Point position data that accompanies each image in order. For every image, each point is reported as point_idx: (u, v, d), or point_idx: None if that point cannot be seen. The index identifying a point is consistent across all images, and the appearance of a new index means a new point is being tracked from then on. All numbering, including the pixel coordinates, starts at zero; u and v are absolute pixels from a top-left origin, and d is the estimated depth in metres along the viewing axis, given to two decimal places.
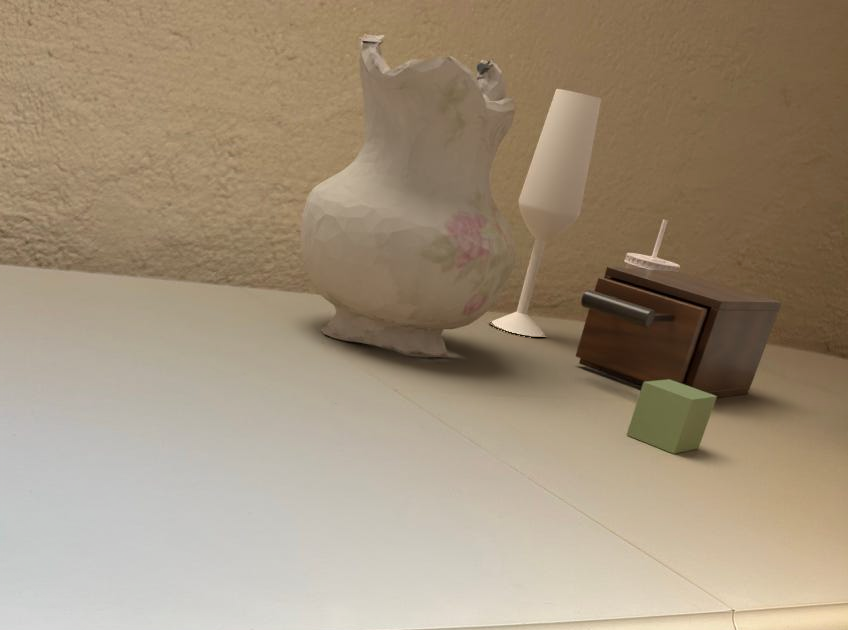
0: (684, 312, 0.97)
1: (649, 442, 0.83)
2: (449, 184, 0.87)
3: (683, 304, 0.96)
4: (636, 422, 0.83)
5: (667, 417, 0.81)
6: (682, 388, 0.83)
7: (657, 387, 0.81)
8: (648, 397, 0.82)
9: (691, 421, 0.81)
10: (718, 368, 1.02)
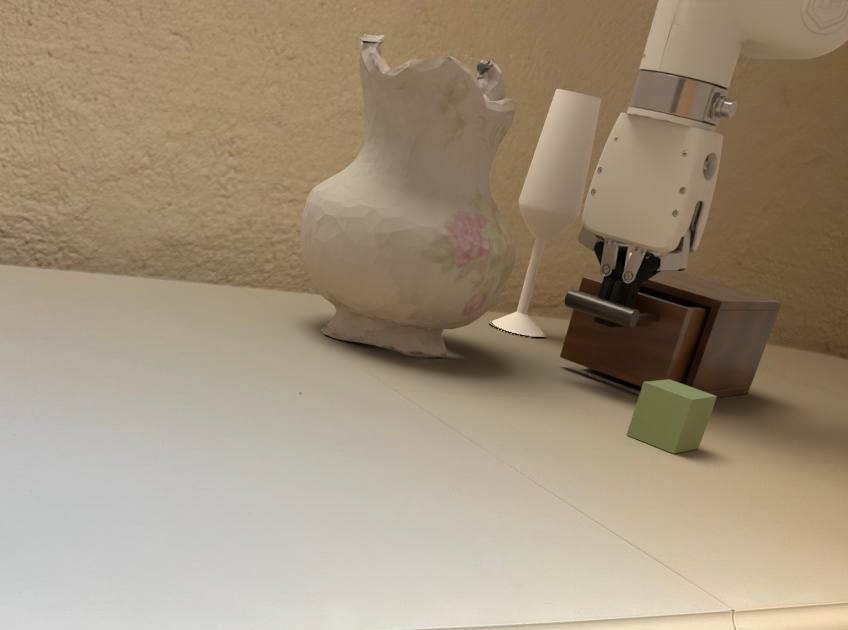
0: (669, 312, 0.94)
1: (649, 442, 0.83)
2: (449, 184, 0.87)
3: (668, 304, 0.94)
4: (636, 422, 0.83)
5: (667, 417, 0.81)
6: (682, 388, 0.83)
7: (657, 387, 0.81)
8: (648, 397, 0.82)
9: (691, 421, 0.81)
10: (718, 368, 1.02)
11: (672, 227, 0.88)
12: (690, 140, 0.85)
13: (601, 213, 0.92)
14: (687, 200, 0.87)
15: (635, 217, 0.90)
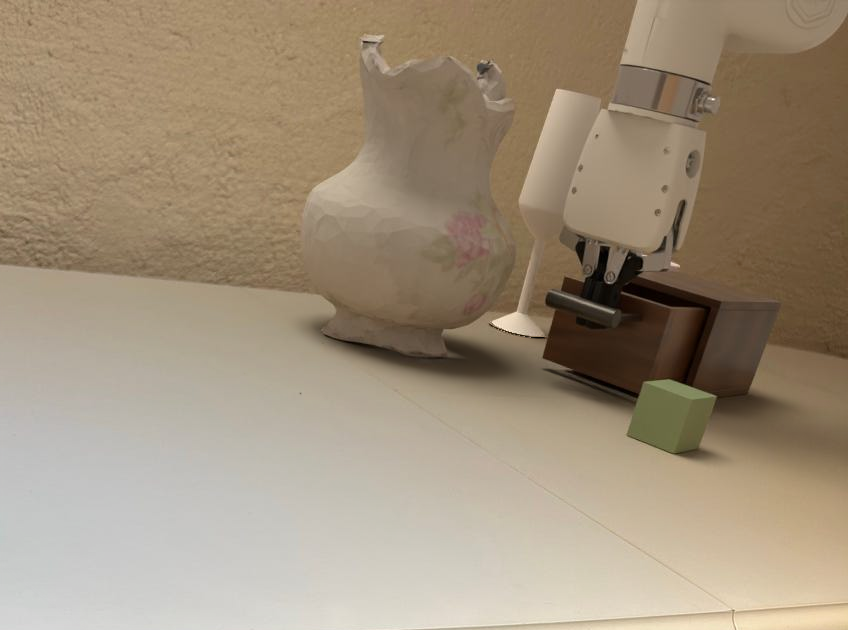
0: (652, 312, 0.92)
1: (649, 442, 0.83)
2: (449, 184, 0.87)
3: (652, 304, 0.92)
4: (636, 422, 0.83)
5: (667, 417, 0.81)
6: (682, 388, 0.83)
7: (657, 387, 0.81)
8: (648, 397, 0.82)
9: (691, 421, 0.81)
10: (718, 368, 1.02)
11: (655, 227, 0.86)
12: (672, 137, 0.83)
13: (582, 212, 0.89)
14: (669, 199, 0.84)
15: (617, 216, 0.87)
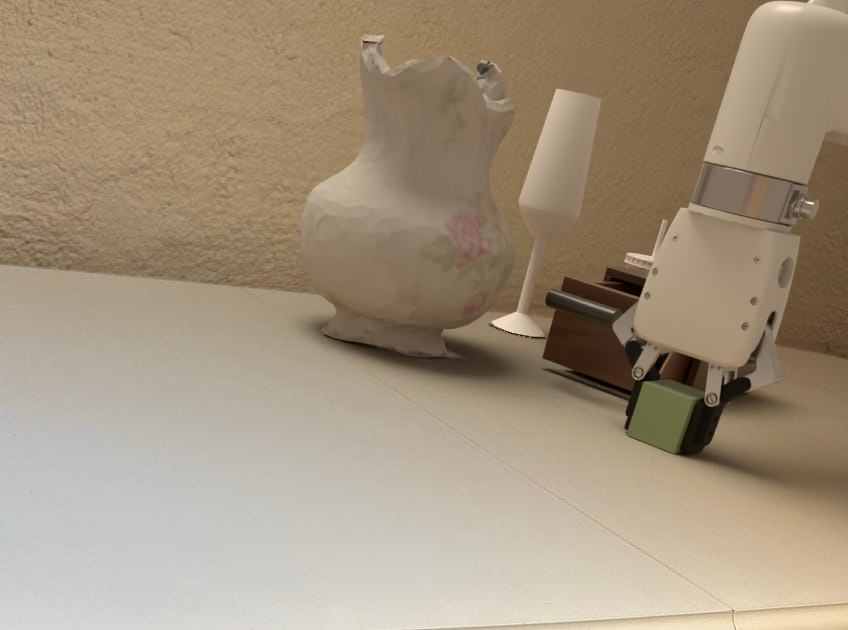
0: None
1: (649, 442, 0.83)
2: (449, 184, 0.87)
3: None
4: (636, 422, 0.83)
5: (667, 417, 0.81)
6: (682, 388, 0.83)
7: (657, 387, 0.81)
8: (648, 397, 0.82)
9: None
10: None
11: (741, 341, 0.77)
12: (764, 245, 0.74)
13: (656, 320, 0.80)
14: (759, 312, 0.75)
15: (697, 327, 0.78)
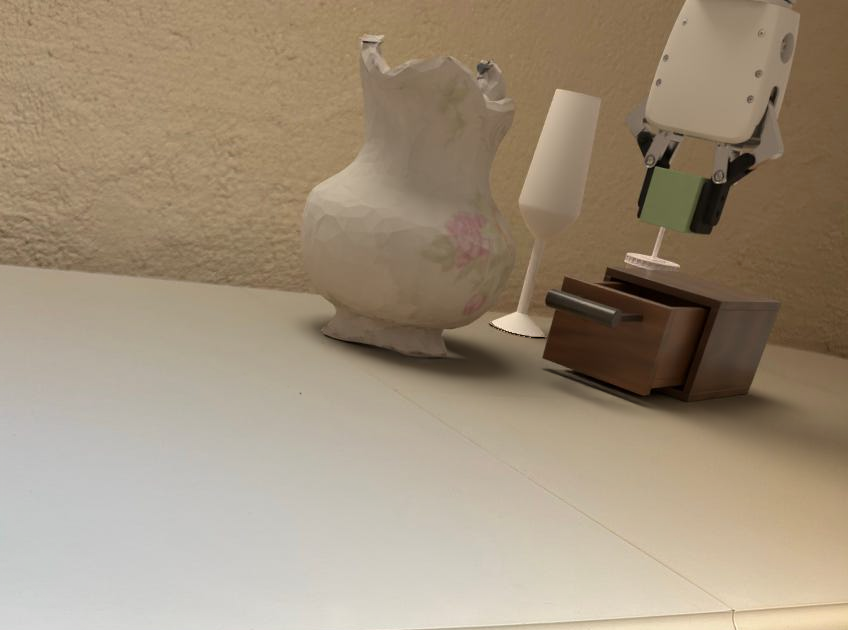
0: (652, 312, 0.92)
1: (660, 224, 0.89)
2: (449, 184, 0.87)
3: (652, 304, 0.92)
4: (648, 207, 0.90)
5: (677, 198, 0.88)
6: (691, 174, 0.89)
7: (668, 170, 0.88)
8: (659, 181, 0.88)
9: None
10: (718, 368, 1.02)
11: (746, 115, 0.83)
12: (767, 18, 0.80)
13: (667, 105, 0.87)
14: (763, 84, 0.82)
15: (705, 106, 0.85)
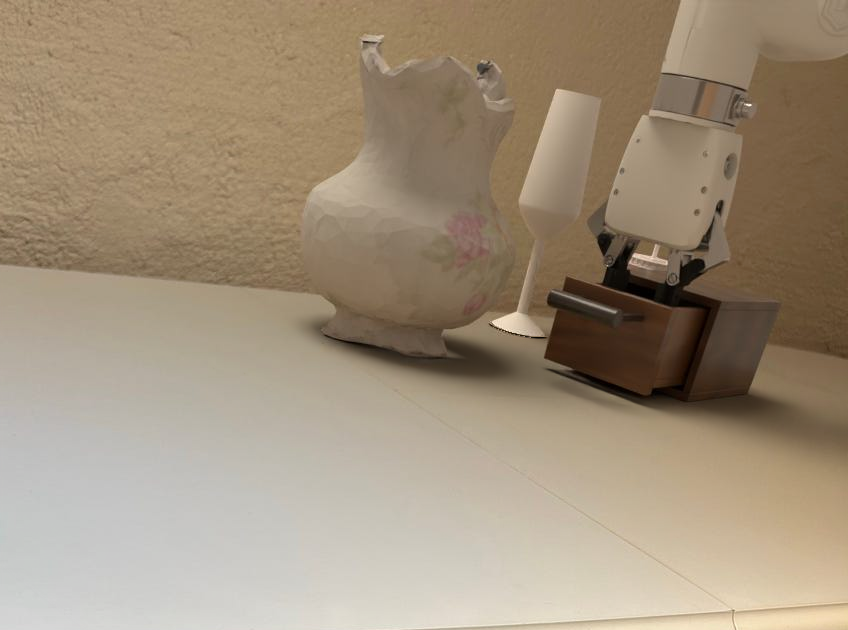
0: (654, 312, 0.92)
1: None
2: (449, 184, 0.87)
3: (653, 304, 0.92)
4: None
5: None
6: None
7: None
8: None
9: None
10: (718, 368, 1.02)
11: (694, 226, 0.91)
12: (711, 141, 0.88)
13: (624, 213, 0.94)
14: (708, 199, 0.89)
15: (657, 216, 0.92)
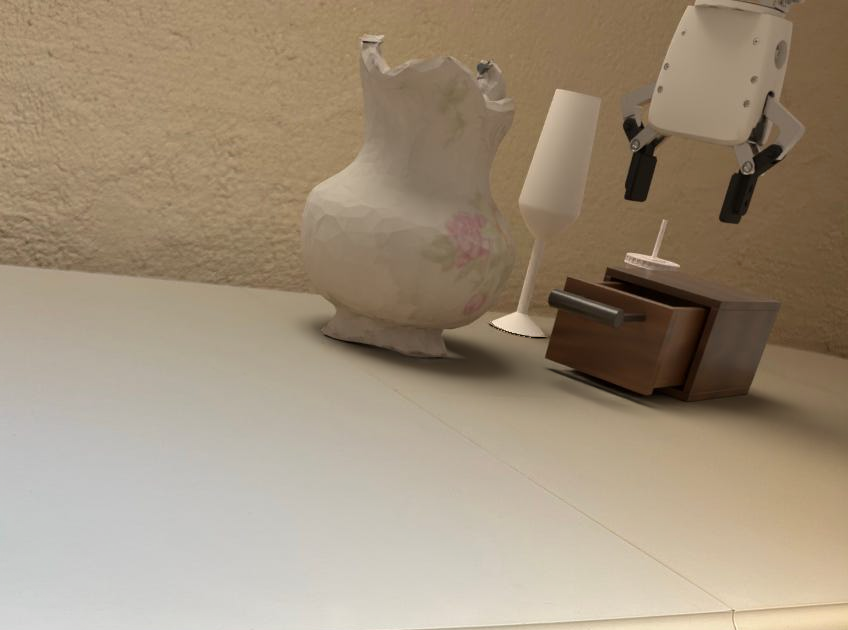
0: (655, 312, 0.93)
1: None
2: (449, 184, 0.87)
3: (654, 304, 0.92)
4: None
5: None
6: None
7: None
8: None
9: None
10: (718, 368, 1.02)
11: (743, 118, 0.88)
12: (761, 27, 0.85)
13: (668, 110, 0.92)
14: (759, 89, 0.87)
15: (704, 111, 0.89)
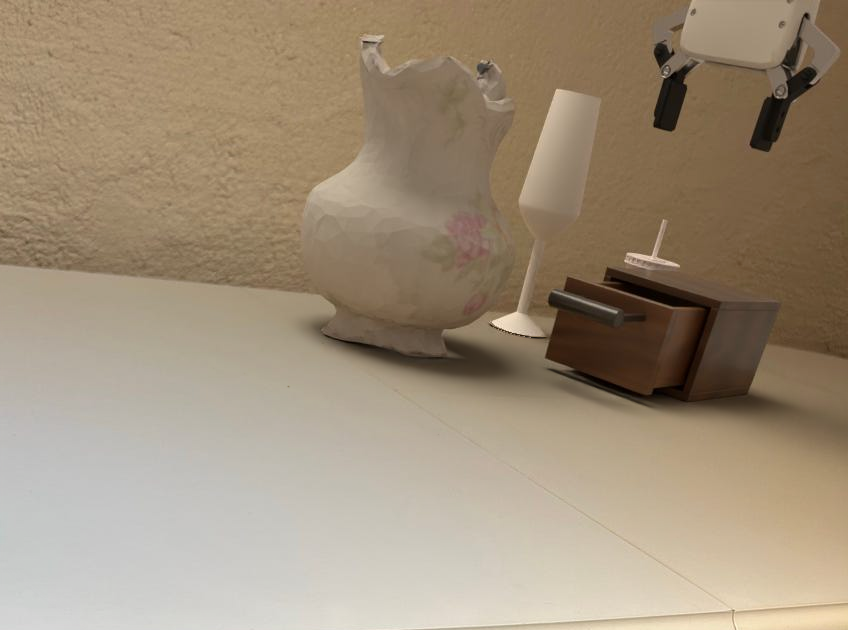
0: (655, 312, 0.93)
1: None
2: (449, 184, 0.87)
3: (654, 304, 0.92)
4: None
5: None
6: None
7: None
8: None
9: None
10: (718, 368, 1.02)
11: (778, 40, 0.87)
12: None
13: (701, 33, 0.90)
14: (795, 10, 0.85)
15: (738, 33, 0.88)
